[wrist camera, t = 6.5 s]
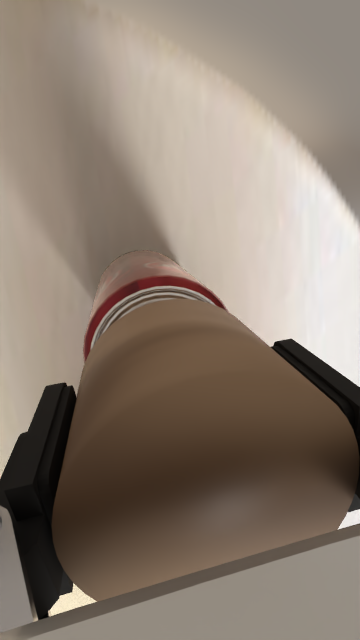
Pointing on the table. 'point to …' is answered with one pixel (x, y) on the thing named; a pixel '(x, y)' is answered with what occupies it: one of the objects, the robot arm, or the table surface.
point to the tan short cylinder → (193, 452)
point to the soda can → (140, 290)
